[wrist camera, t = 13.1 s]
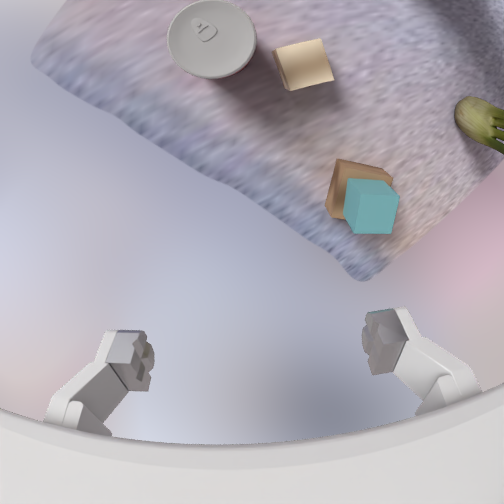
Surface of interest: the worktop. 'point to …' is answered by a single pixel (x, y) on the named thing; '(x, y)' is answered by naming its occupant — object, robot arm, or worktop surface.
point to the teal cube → (370, 206)
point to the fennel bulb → (481, 121)
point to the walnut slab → (339, 183)
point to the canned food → (211, 39)
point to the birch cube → (303, 64)
